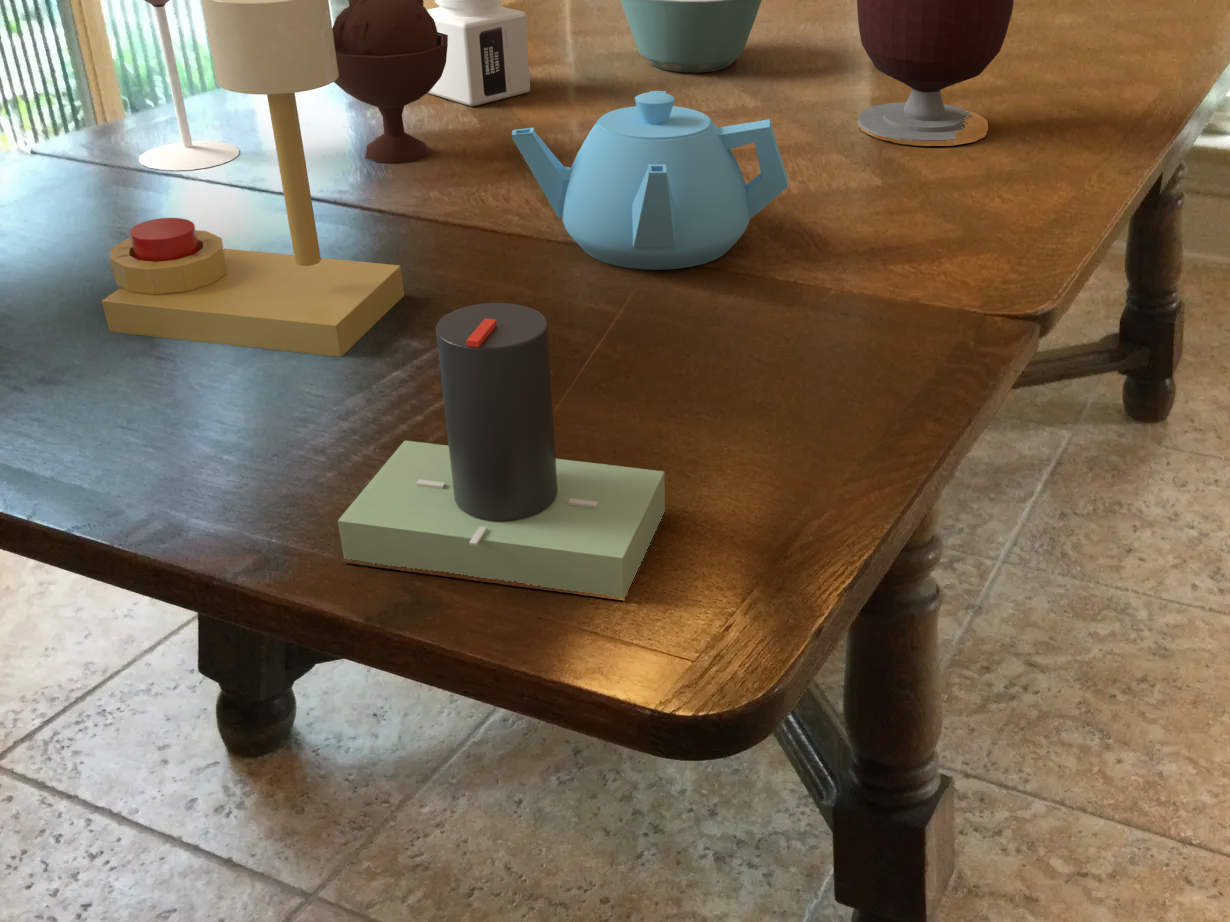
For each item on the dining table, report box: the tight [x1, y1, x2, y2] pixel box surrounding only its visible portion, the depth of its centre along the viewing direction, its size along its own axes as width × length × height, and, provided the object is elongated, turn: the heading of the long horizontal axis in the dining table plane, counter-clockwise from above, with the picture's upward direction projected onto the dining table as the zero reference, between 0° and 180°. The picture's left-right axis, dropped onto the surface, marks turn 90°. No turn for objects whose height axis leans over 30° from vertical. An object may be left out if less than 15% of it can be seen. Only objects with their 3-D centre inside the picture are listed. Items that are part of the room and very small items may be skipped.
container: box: [426, 0, 531, 107], centre depth 131 cm, size 8×8×13 cm
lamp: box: [200, 0, 339, 266], centre depth 82 cm, size 7×7×16 cm
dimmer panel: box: [337, 440, 666, 598], centre depth 66 cm, size 14×9×3 cm, turn 78°
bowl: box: [620, 0, 762, 74], centre depth 143 cm, size 16×16×8 cm
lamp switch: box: [129, 217, 200, 262], centre depth 88 cm, size 4×4×2 cm
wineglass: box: [138, 0, 240, 171], centre depth 111 cm, size 9×10×22 cm
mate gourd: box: [856, 0, 1015, 142], centre depth 121 cm, size 16×14×20 cm
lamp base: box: [101, 229, 405, 358], centre depth 88 cm, size 18×10×4 cm, turn 78°
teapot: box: [511, 90, 789, 271], centre depth 98 cm, size 15×15×11 cm
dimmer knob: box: [435, 302, 558, 521], centre depth 63 cm, size 5×5×9 cm
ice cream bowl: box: [332, 0, 448, 164], centre depth 114 cm, size 11×11×15 cm
